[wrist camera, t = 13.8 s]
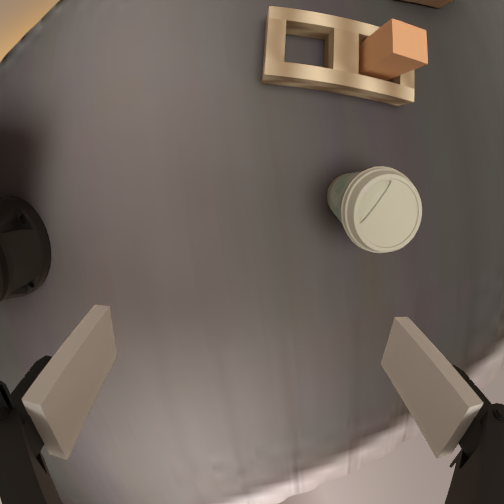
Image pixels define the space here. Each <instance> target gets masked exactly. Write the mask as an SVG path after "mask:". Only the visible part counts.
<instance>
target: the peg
mask: <svg viewBox="0 0 504 504" xmlns="http://www.w3.org/2000/svg"><path fill="white" fill-rule="evenodd" d="M427 64H428V55H427V37H426V30H423V29H421V28H418V27H415V26H413V25H410V24H407V23H404V22H401V21H398V20H395V19H390V20H389V21H388V22H387V23H385V24H384V25H383V26H381V27H380V28H379V29H378V30H376V31H375V32H374V33H373V34H371V35H370V36H369V37H368V38H366V39H365V40H364V41H363V42H361V43H360V44H359V71H358V74H360V75H364V76H368V77H373V78H377V79H381V80H385V81H388V80H390V79H392V78H395V77H397V76H399V75H402V74H404V73H407V72H409V71H412V70H414V69H417V68H419V67H422V66H424V65H427Z"/></svg>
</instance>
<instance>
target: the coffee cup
mask: <svg viewBox="0 0 504 504" xmlns="http://www.w3.org/2000/svg"><path fill="white" fill-rule="evenodd" d="M327 201H328V205H329V207H330V209H331V210H332V212H333V213H334V214H335V215H336V217H337V218H338V219H339V220H340V222H341V223H342V224H343V226H344V229H345V231H346V233H347V235H348V236H349V238H350V239H351V240H352V241H353V242H354V243H355V244H356V245H357V246H359V247H360V248H362V249H364V250H367V251H370V252H375V253H384V252H391V251H395V250H398V249H400V248H402V247H403V246H405V245H406V244H407V243H408V242H409V241H410V240H411V239H412V238H413V237H414V235H415V234H416V232H417V230H418V228H419V225H420V222H421V217H422V204H421V199H420V196H419V194H418V191H417V190H416V188H415V187H414V185H413V184H412V183H411V181H410V180H409V179H408V178H407V177H406V176H405V175H403V174H402V173H400V172H399V171H397V170H395V169H392V168H389V167H373V168H370V169H367V170H365V171H362V172H354V173H347V174H342V175H340V176H338V177H337V178H335V179H334V180H333V181H332V183H331V184H330V186H329V188H328V192H327Z"/></svg>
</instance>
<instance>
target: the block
mask: <svg viewBox="0 0 504 504" xmlns="http://www.w3.org/2000/svg"><path fill="white" fill-rule="evenodd" d="M402 1H408V2H413V3H418V4H423V5H427V6H431V7H436V8H440V7H443V6H445V5H447V4H448V3H450V2H452V1H454V0H402Z"/></svg>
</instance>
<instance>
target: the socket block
mask: <svg viewBox="0 0 504 504" xmlns="http://www.w3.org/2000/svg"><path fill="white" fill-rule="evenodd" d="M379 28H380V27H378V26H374V25H370V24H367V23H363V22H359V21H355V20H351V19H346V18H342V17H337V16H332V15H327V14H322V13H317V12H311V11H305V10H298V9H291V8H283V7H274V6H269V10H268V14H267V18H266V27H265V40H264V54H263V67H262V81H261V83H262V84H273V85H283V86H291V87H300V88H307V89H314V90H321V91H327V92H333V93H339V94H344V95H350V96H355V97H360V98H365V99H369V100H374V101H378V102H383V103H387V104H391V105H395V106H400V105H404V104H408V103H412V102H414V70H412V71H409V72H407V73H404V74H402V75H399V76H397V77H395V78H392V79H390V80H388V81H385V80H381V79H377V78H373V77H368V76H364V75H360V74H358V71H359V44H360V43H361V42H363V41H364V40H365V39H366V38H368V37H369V36H370V35H371V34H373V33H374V32H375V31H376V30H378V29H379ZM286 34H289V35H296V36H303V37H310V38H316V39H322V40H324V66H323V67H317V66H311V65H304V64H297V63H289V62H284V54H285V38H286Z"/></svg>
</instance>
